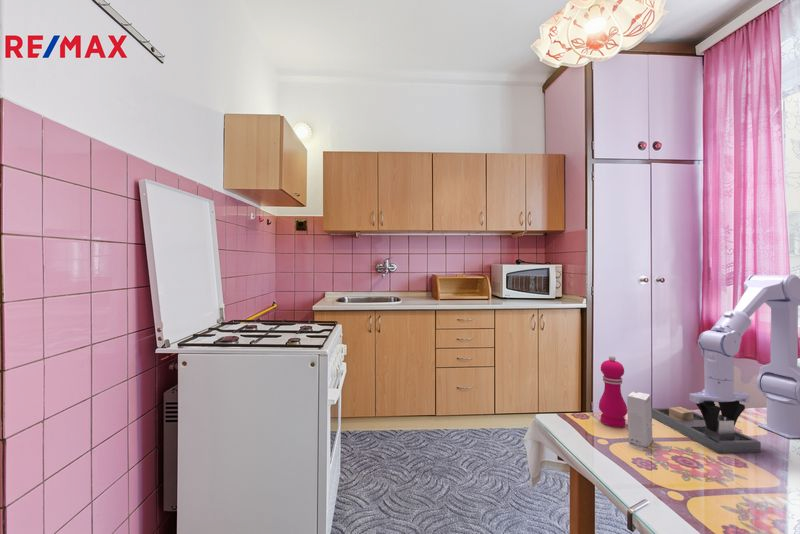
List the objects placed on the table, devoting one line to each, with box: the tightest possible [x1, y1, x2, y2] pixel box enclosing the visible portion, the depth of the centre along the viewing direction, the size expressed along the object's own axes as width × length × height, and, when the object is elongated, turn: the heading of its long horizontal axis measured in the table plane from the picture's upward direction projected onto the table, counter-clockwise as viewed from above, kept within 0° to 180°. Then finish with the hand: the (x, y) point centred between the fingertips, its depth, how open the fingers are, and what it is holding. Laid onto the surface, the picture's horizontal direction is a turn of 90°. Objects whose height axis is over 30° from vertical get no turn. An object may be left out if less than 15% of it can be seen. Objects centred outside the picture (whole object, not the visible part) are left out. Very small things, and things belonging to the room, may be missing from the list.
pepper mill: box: [598, 354, 628, 428], centre depth 103 cm, size 7×7×20 cm
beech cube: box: [668, 406, 694, 421], centre depth 103 cm, size 4×4×4 cm
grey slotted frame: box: [651, 407, 762, 454], centre depth 97 cm, size 11×22×2 cm, turn 2°
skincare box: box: [626, 391, 653, 448], centre depth 92 cm, size 6×4×12 cm
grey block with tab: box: [705, 413, 735, 441], centre depth 91 cm, size 4×4×7 cm
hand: (719, 429), depth 91 cm, fingers closed on grey block with tab, 4 cm apart
